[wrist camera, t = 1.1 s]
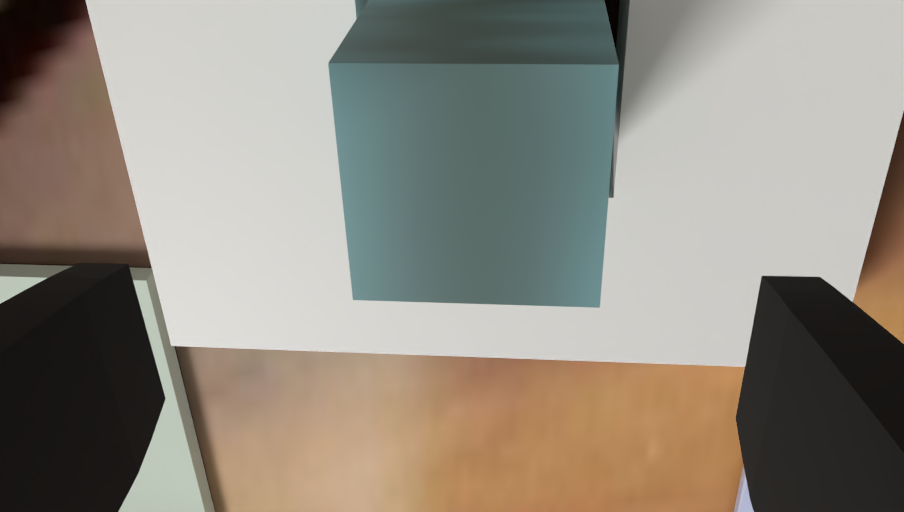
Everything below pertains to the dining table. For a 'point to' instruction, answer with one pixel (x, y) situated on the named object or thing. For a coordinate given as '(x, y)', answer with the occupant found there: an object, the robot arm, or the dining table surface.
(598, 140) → the block
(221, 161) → the holder
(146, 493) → the mat
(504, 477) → the dining table surface
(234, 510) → the dining table surface
